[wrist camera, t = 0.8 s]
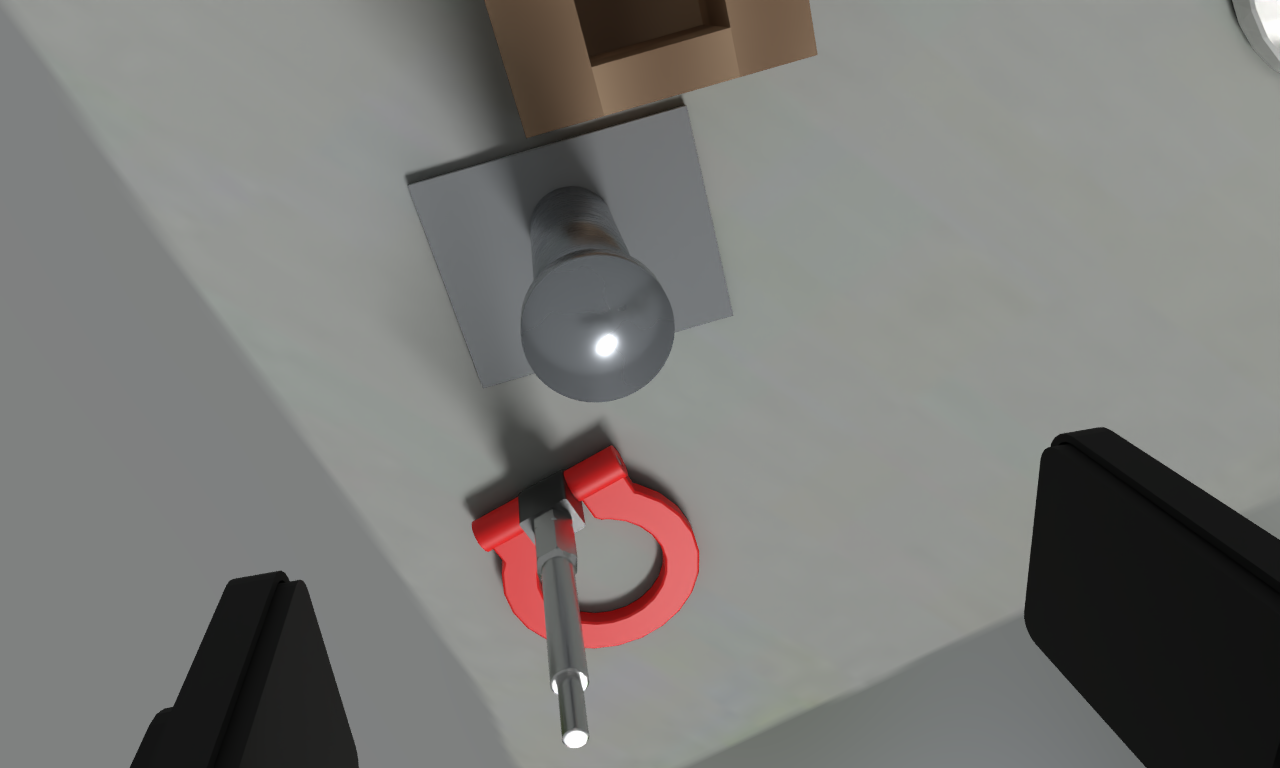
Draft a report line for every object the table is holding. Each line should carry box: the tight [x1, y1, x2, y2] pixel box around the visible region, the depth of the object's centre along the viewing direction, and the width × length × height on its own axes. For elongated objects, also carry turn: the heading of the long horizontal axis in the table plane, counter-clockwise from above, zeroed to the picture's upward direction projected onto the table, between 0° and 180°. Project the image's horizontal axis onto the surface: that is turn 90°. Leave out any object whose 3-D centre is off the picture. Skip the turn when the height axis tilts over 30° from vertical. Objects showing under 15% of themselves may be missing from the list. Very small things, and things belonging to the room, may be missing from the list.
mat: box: [408, 105, 733, 388], centre depth 32 cm, size 10×8×1 cm
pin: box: [521, 186, 675, 402], centre depth 26 cm, size 4×4×11 cm
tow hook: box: [472, 445, 699, 748], centre depth 32 cm, size 8×13×9 cm
